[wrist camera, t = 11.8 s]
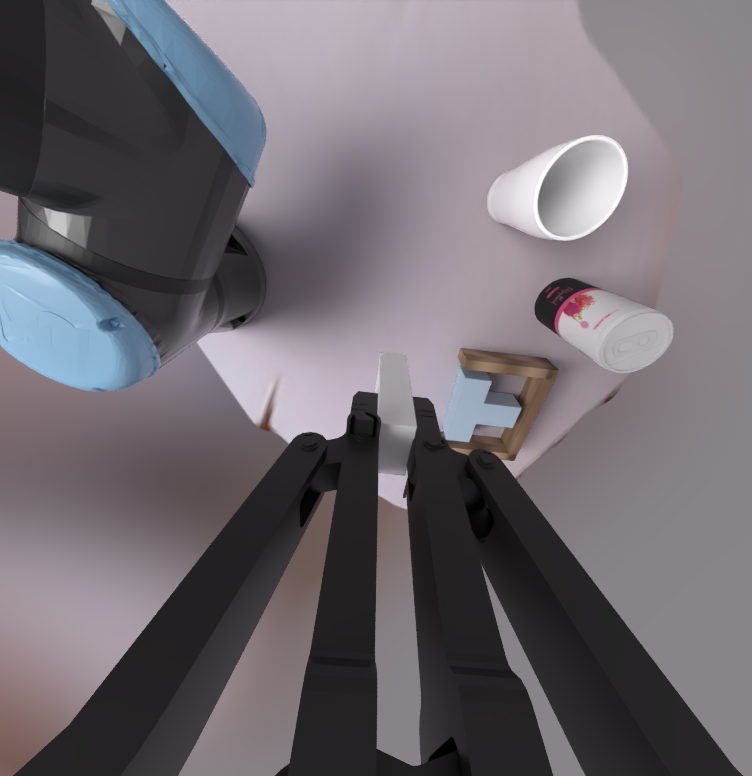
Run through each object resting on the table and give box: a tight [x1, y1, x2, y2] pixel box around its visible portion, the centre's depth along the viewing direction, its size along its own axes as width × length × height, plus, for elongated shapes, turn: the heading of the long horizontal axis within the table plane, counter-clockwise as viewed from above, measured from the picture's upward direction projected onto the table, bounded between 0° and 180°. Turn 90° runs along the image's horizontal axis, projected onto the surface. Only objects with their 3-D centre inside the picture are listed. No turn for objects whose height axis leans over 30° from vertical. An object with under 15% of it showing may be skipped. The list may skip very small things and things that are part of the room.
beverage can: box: [535, 278, 673, 373], centre depth 35 cm, size 6×7×15 cm
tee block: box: [442, 366, 522, 442], centre depth 48 cm, size 10×12×4 cm
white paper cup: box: [487, 135, 628, 241], centre depth 28 cm, size 7×7×15 cm
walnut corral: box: [440, 348, 559, 461], centre depth 48 cm, size 14×18×4 cm
